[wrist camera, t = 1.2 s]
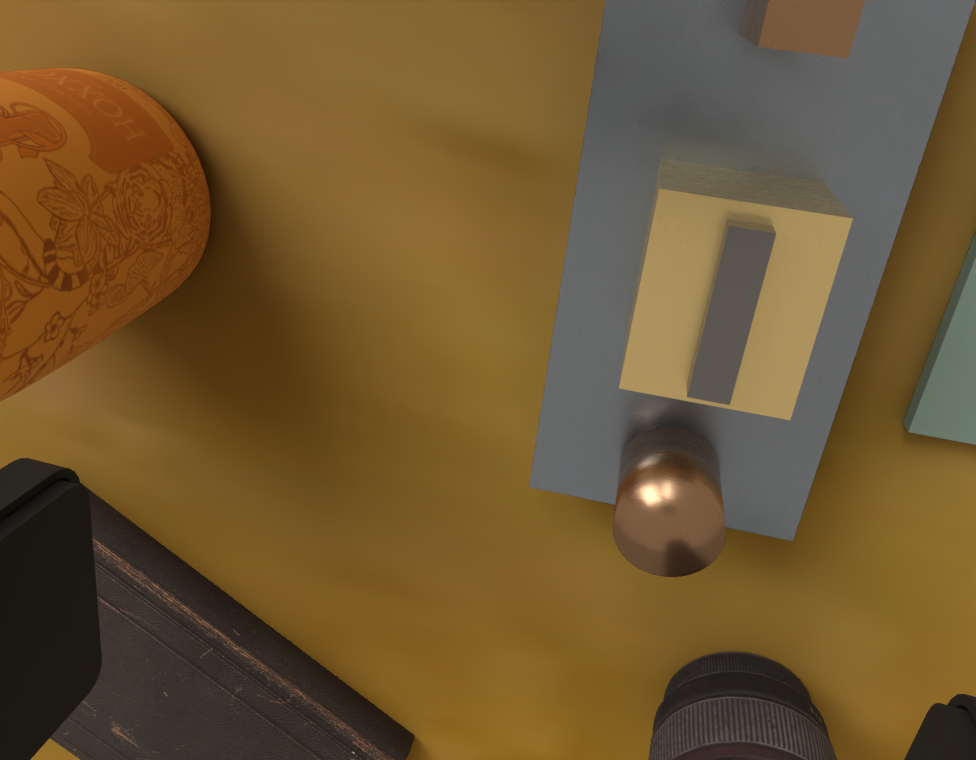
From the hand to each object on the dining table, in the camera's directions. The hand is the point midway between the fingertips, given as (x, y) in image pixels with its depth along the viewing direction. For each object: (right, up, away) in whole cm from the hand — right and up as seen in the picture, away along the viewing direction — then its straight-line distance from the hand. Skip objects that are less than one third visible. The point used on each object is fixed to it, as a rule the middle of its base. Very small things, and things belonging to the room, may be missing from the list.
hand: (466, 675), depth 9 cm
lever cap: (+8, +7, +18) cm, 21 cm away
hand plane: (+8, +9, +21) cm, 24 cm away
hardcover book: (-17, -13, +38) cm, 44 cm away
